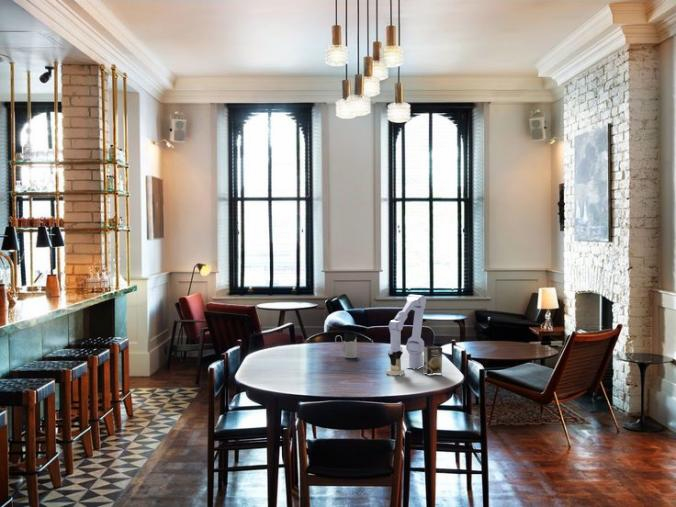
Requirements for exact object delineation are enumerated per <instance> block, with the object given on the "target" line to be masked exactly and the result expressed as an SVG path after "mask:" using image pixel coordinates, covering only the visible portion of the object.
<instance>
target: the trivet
mask: <svg viewBox="0 0 676 507" xmlns="http://www.w3.org/2000/svg"><path fill="white" fill-rule="evenodd" d="M402 373H404V374H405V369H404V368H401V369H400V370H398V371H394V370H391V369H390V368H388V369H386V370H385V375H386V374H389V375H388V376H392V375H400V374H402ZM400 376H401V375H400Z"/></svg>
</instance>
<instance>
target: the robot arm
mask: <svg viewBox="0 0 676 507" xmlns="http://www.w3.org/2000/svg"><path fill="white" fill-rule="evenodd" d="M426 302H427V299H426V297H425V295H423V294H422V295H421V294H411V293H410V294H408V295H407V297H406V303H405V305H404V307H403V308H402V310H399V311H398V312H397V314H396V315H395V317H394V319H392V320H390V321H389V323H388V330H389V333H390V349H389V350H388V353H387V356H388V358H389V361H391V365H393V366H395V365H396V359H401V357H402V355H403V353H404V351H403V347H402V346H401V338H402V337H401V336H402V334H401V331H402V330H403V328H404V325H405V324H404V323H405V321H406V320H407V319H408V315H409V313H410V311H411V310H412V309H413V310H414V315H413V323H412V324H413V325H412V332H411V333H412V334H411V336H410V337H409V338H408V339H407V343H406V345H405V349H406V351H407V353H408V367H410V368H419V367H421V366H424V347H425V341H424V340H423V338H422V337H421V335H422V327H423V319H424V310H425V309H426Z"/></svg>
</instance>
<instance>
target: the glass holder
mask: <svg viewBox="0 0 676 507" xmlns="http://www.w3.org/2000/svg"><path fill="white" fill-rule="evenodd" d="M337 337H340V338H341V342H342V343H344V344H343V345H344V346H343V347H344V348H343V349H342V348H340V346H339V345H338V343H337ZM334 340H335V344H336V345H335V346H337V348H338V349H339V350H341V351H342V353H343V357H344V358H346V359H347V358H349V359H350V358H351V359H353V358H357V357H358V355H357V333H356V332H345V333H344V341H343V337H342V336H341V335H336V336H335V339H334Z"/></svg>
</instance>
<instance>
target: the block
mask: <svg viewBox="0 0 676 507" xmlns="http://www.w3.org/2000/svg"><path fill="white" fill-rule="evenodd" d="M389 361H390V360H389ZM401 363H402V359H401V358H400V359H396V365H395V366H393V365H391V361H390V365H389V366H390V368H389V369H391V370H394V371H398V370H400V369H402V364H401Z"/></svg>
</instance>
